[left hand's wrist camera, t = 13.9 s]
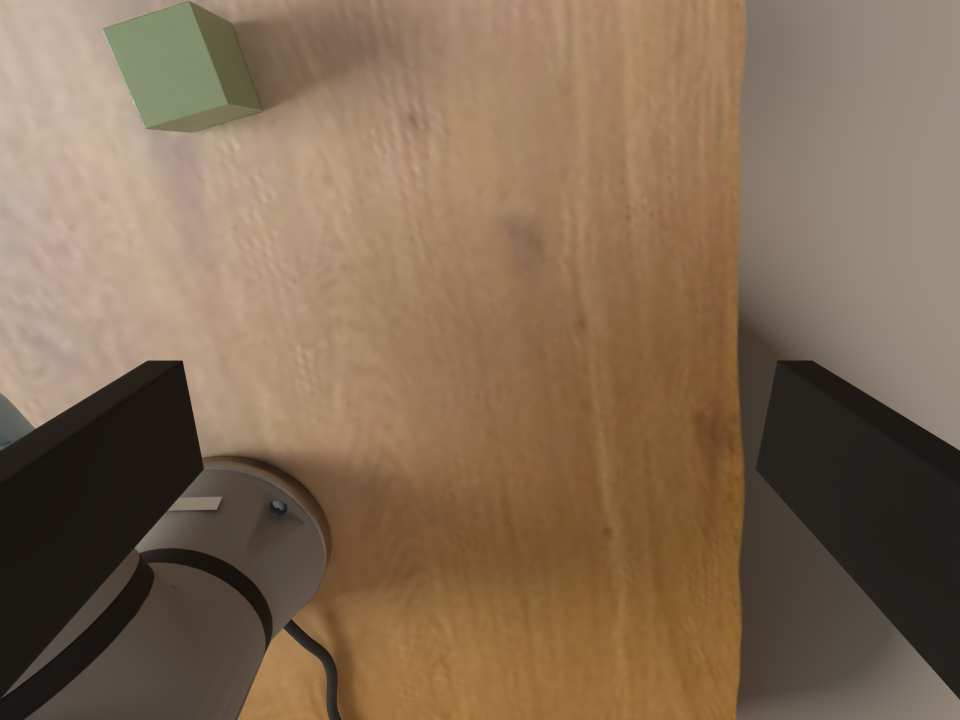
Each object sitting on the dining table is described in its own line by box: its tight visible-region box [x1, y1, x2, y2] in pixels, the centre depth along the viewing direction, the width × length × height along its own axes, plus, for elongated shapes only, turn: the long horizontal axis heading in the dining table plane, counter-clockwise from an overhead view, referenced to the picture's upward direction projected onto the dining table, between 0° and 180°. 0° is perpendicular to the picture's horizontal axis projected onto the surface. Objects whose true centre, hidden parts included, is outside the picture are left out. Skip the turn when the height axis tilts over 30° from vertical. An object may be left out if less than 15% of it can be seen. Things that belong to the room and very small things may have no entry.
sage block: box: [102, 1, 263, 133], centre depth 32 cm, size 5×5×5 cm
